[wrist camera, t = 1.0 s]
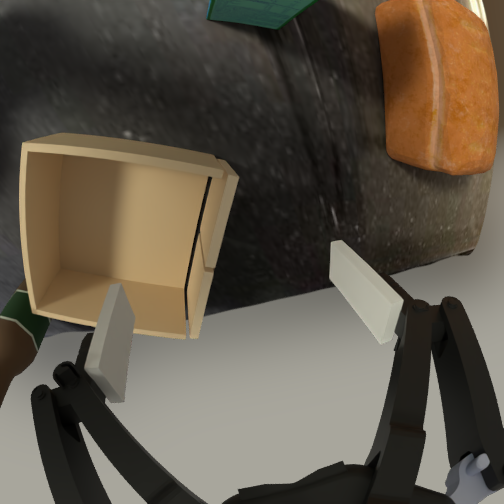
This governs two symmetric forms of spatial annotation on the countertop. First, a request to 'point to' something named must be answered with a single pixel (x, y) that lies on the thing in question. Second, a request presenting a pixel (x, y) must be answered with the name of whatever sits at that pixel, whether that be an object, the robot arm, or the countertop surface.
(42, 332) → the beer bottle
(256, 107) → the countertop surface
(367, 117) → the countertop surface
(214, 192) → the flap
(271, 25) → the milk carton
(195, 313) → the flap
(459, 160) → the bread
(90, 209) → the carton
